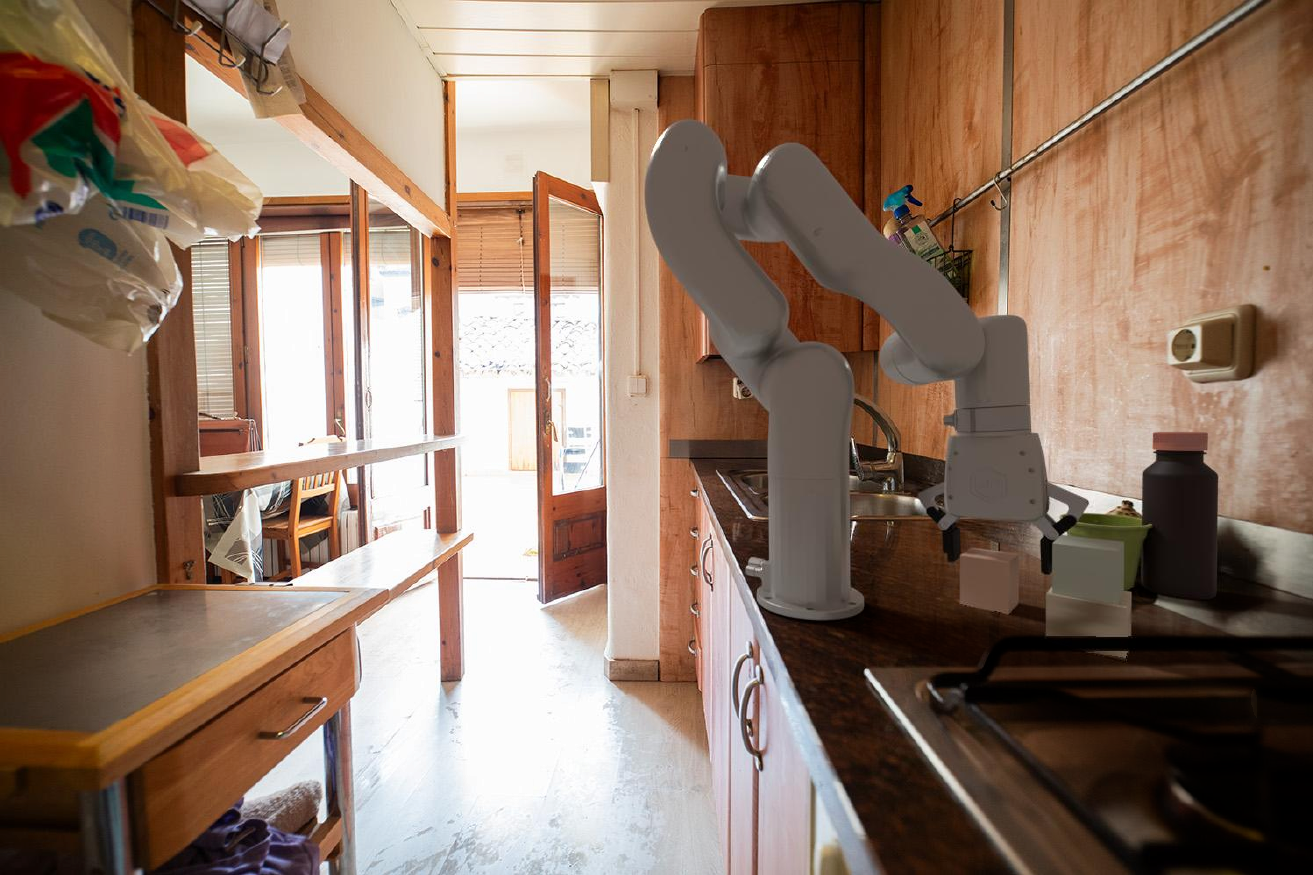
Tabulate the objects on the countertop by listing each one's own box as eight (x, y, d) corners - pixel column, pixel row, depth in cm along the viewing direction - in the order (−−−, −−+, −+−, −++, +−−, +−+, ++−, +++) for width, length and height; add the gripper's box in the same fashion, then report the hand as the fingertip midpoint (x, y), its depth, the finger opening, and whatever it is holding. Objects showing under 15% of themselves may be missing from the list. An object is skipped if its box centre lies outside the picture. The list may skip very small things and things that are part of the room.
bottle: (1183, 584, 71) (1185, 431, 70) (1233, 601, 64) (1236, 432, 63) (1127, 583, 71) (1128, 432, 71) (1171, 600, 65) (1173, 433, 64)
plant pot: (1171, 597, 66) (1172, 527, 65) (1083, 594, 67) (1083, 525, 67) (1121, 575, 75) (1122, 513, 74) (1045, 572, 77) (1045, 512, 76)
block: (959, 605, 65) (959, 555, 64) (971, 594, 68) (971, 547, 68) (1008, 615, 61) (1008, 562, 61) (1018, 603, 65) (1018, 554, 64)
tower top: (1052, 593, 53) (1052, 543, 53) (1061, 581, 57) (1061, 534, 57) (1118, 605, 50) (1118, 551, 50) (1123, 592, 53) (1124, 541, 53)
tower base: (1045, 643, 53) (1046, 593, 53) (1056, 626, 58) (1056, 580, 57) (1125, 662, 49) (1126, 607, 49) (1130, 642, 53) (1131, 592, 53)
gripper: (905, 427, 67) (911, 562, 68) (1080, 420, 55) (1086, 586, 56) (926, 424, 73) (932, 549, 73) (1089, 417, 60) (1095, 569, 61)
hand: (998, 565), depth 64 cm, fingers open, 9 cm apart
